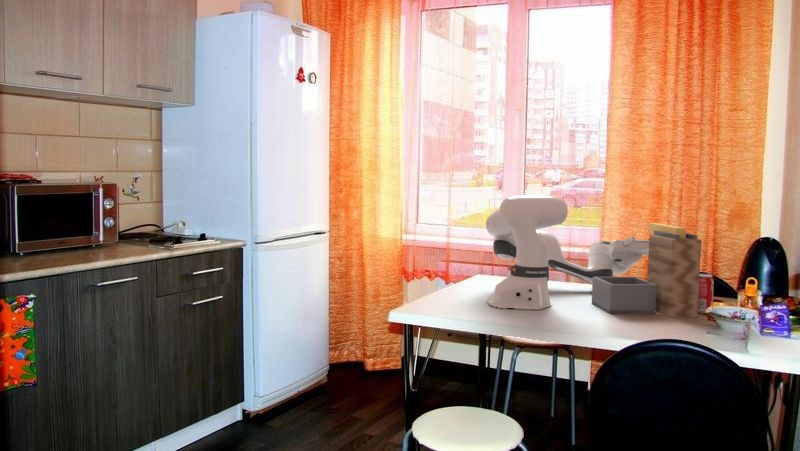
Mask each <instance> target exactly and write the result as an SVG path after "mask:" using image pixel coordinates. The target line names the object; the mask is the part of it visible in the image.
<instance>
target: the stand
mask: <svg viewBox="0 0 800 451" xmlns="http://www.w3.org/2000/svg"><path fill="white" fill-rule="evenodd" d="M648 237H649V238H648V240H649V254H648V255H647V258H648V259H647V274H646V276H647V277H646V281H648V282H651V283H653V284H656V285H657V290H656V309H655V313H658V314H660V315H662V316H665V317H667V318H697V317H698V313H697V308H698V291H699V274H701V272H700V271H701V256H702V255H701V253H702V239H699V238H698V235H697V234H694V233H689V232H686V238H680V235H678V234H673V233H667V232H662V231H654V234H649V236H648Z"/></svg>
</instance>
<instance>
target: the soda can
mask: <svg viewBox="0 0 800 451" xmlns="http://www.w3.org/2000/svg"><path fill="white" fill-rule="evenodd" d="M714 281H715V280H714V278H713V275H712V274H710V273H700V274H699V291H698V308H697V314H705V311H706V309H707V308H708V307H709V306H710V305H711V304H712V303H713V304H714V289H715V288H714V287H715V286H714V285H715V282H714ZM705 315H706V314H705Z"/></svg>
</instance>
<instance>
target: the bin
mask: <svg viewBox="0 0 800 451" xmlns="http://www.w3.org/2000/svg"><path fill="white" fill-rule="evenodd" d="M591 285H592V286H591V287H592V289H591V305H593V306H595V307H596V308H599V309H600V310H602V311H603V312H605V313H607V314H610V315H624V314H625V315H641V314H642V315H644V314H645V315H649V314H650V315H651V314H652V315H653V314H654V315H656V311H655V309H656V290H657V285H656V284H653V283H651V282H648V281H647V280H645V279H642V278H640V277H637V276H613V277H593V284H591Z"/></svg>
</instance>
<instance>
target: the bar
mask: <svg viewBox="0 0 800 451" xmlns="http://www.w3.org/2000/svg"><path fill="white" fill-rule="evenodd" d="M654 231H662V232H667V233H673V234H678V235H680V238H686V233H687V228H686V227H682V226H676V225H669V224H665V223H658V222H648V223H647V233H649V234H651V235H654Z"/></svg>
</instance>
